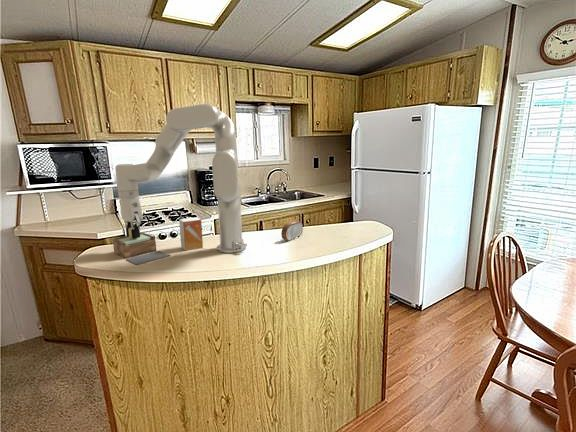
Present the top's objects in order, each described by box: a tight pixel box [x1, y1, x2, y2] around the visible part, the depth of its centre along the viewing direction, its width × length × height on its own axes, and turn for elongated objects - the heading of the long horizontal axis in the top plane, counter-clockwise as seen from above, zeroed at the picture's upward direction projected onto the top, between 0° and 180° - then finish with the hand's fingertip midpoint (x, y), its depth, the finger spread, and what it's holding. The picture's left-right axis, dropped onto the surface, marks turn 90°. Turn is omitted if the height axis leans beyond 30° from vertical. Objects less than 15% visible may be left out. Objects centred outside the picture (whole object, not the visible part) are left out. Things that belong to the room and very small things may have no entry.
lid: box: [117, 228, 151, 245], centre depth 136 cm, size 8×11×6 cm
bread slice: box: [281, 220, 304, 242], centre depth 154 cm, size 15×3×8 cm, turn 144°
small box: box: [178, 216, 204, 251], centre depth 141 cm, size 8×6×13 cm
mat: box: [125, 250, 171, 266], centre depth 130 cm, size 9×14×1 cm, turn 140°
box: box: [112, 232, 157, 260], centre depth 136 cm, size 11×13×6 cm
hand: (133, 236), depth 136 cm, fingers open, 4 cm apart
